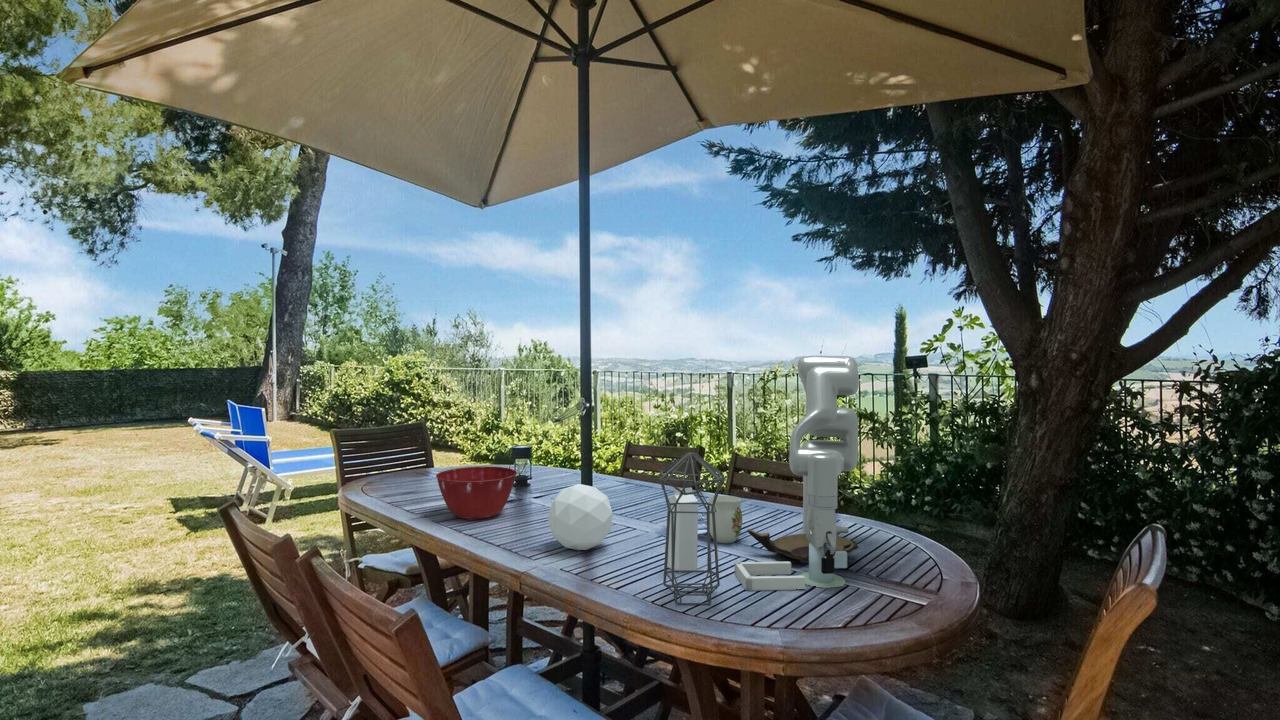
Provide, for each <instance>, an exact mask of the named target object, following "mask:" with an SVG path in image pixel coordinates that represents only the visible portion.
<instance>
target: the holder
mask: <svg viewBox="0 0 1280 720" xmlns="http://www.w3.org/2000/svg"><path fill="white" fill-rule="evenodd" d="M734 575H735V576H736V578H737V579H738V581H739V582H740V584H741V585H742V586H743V588H744V590H745V591H746V592H748V591H749V592H750V591H789V590H790V591H797V590H796V589H798V591H799V589H805V590H806V585H805V577H804V576H798V575H792V562H791V561H735V562H734Z"/></svg>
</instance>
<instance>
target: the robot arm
mask: <svg viewBox="0 0 1280 720" xmlns="http://www.w3.org/2000/svg"><path fill="white" fill-rule="evenodd" d="M797 372H798V375H799V379H800V381H801V383H802V385H803V388H804V392H805V415H804V416H803V418H801V420H800V421H798V423H797V424H796V425H795V427H794V429H793V430H792V432H791V435H790V439H789V457H788V458H789V459H788V460H789V461H788V462H789V463H788V464H789V469H790V471H791V472H792V474H793V475H796V476H800V477H801V476H802V481H803V485H802V488H803V489H802V491H803V492H802V495H803V496H802V498H803V499H802V530H799V532H797V534H806V538H807V540H808V541H810V542H811V543H812V544H813V545H814V546H816V547H817V548H820V547H821V549H822V554H823V557H822V562H821V572H822V573H823V574H833V573H834V574H835V568H834V562H835V553H836V552H835V550H836V536H839V534H849V532H850V531H849V526H848V527H847V526H845V527H844V526H841V525H837V521H836V520H837V519H836V518H837V517H836V510H837V508H838V477H839V476H840V475H841V473H842V472H852V471H854V470H855V469H856V468H857V466H858V460H859V459H858V458H859V457H858V456H859V421H858V420H859V418H858V415H857V413H856V411H855V410H854V409H852V408H850V407H839V406H838V396H853V395H856V394H857V392H858V391H859V386H860V378H859V377H860V376H859V370H858V365H857V361H856V360H855V358H854V357H852V356H848V355H845V356H844V355H807V356H803V357H800V359H798V361H797ZM806 434H809V435H810V436H813V437H819V438H820V437H821V438H822V437H823V438H841V439H842V440H831V439H826V440H825V439H811V440H807V441H805V442H804V443H802V445H801V440H802V438H803V437H805V435H806ZM810 542H809V543H810ZM824 544H828V545H824ZM825 549H828V550H827V552H826V551H825Z"/></svg>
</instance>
